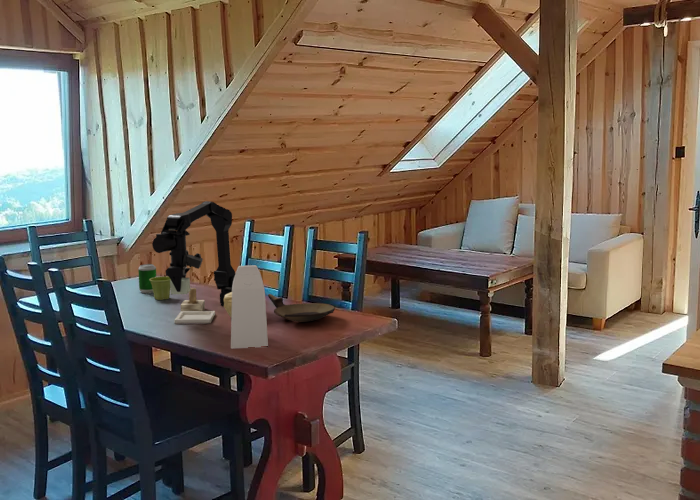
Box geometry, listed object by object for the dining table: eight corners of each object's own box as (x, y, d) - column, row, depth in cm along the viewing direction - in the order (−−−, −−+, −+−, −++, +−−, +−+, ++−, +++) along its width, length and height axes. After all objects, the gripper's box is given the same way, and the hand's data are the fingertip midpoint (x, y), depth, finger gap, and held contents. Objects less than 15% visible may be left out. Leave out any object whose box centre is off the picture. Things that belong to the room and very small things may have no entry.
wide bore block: (204, 308, 277) (204, 300, 277) (201, 313, 269) (201, 304, 269) (184, 308, 277) (184, 300, 276) (181, 313, 269) (180, 304, 268)
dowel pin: (197, 310, 275) (196, 288, 273) (196, 311, 272) (195, 289, 270) (190, 310, 274) (189, 288, 273) (188, 311, 272) (188, 289, 270)
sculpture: (220, 320, 260) (219, 292, 258) (235, 312, 271) (234, 285, 269) (247, 322, 256) (247, 294, 254) (261, 315, 267) (261, 287, 266)
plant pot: (167, 301, 289) (166, 281, 288) (146, 300, 291) (145, 280, 290) (177, 296, 299) (176, 277, 297) (156, 295, 300) (156, 276, 299)
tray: (215, 314, 267) (214, 310, 267) (210, 323, 254) (210, 319, 254) (181, 315, 267) (180, 311, 266) (174, 323, 254) (174, 319, 253)
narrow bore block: (190, 290, 262) (189, 277, 261) (187, 294, 256) (186, 281, 255) (174, 290, 261) (173, 277, 260) (170, 294, 255) (170, 281, 255)
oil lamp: (292, 332, 243) (292, 311, 242) (258, 314, 269) (257, 295, 268) (347, 323, 255) (347, 303, 254) (309, 307, 280) (309, 288, 279)
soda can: (154, 293, 304) (153, 266, 303) (137, 293, 305) (135, 266, 303) (159, 290, 312) (157, 263, 310) (142, 289, 312) (141, 263, 310)
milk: (266, 337, 237) (265, 262, 233) (268, 346, 226) (266, 268, 222) (231, 338, 235) (229, 263, 231) (230, 348, 224) (228, 269, 220)
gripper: (195, 252, 247) (197, 295, 249) (204, 244, 265) (206, 283, 268) (164, 253, 246) (166, 295, 249) (175, 244, 265) (177, 284, 267)
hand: (180, 289), depth 258 cm, fingers closed on narrow bore block, 6 cm apart
